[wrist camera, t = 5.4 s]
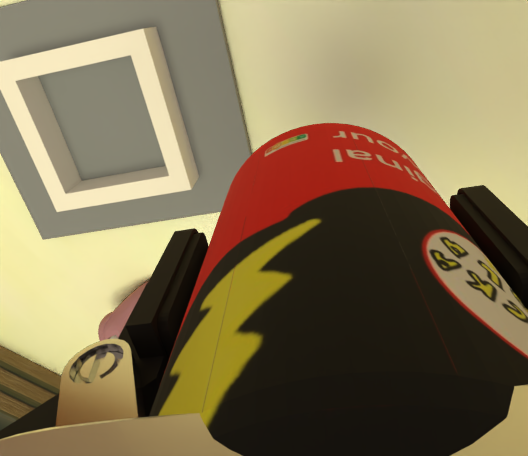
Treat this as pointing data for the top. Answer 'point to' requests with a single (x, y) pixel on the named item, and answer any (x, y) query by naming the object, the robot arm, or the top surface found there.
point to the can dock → (118, 111)
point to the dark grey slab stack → (23, 386)
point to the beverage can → (344, 310)
